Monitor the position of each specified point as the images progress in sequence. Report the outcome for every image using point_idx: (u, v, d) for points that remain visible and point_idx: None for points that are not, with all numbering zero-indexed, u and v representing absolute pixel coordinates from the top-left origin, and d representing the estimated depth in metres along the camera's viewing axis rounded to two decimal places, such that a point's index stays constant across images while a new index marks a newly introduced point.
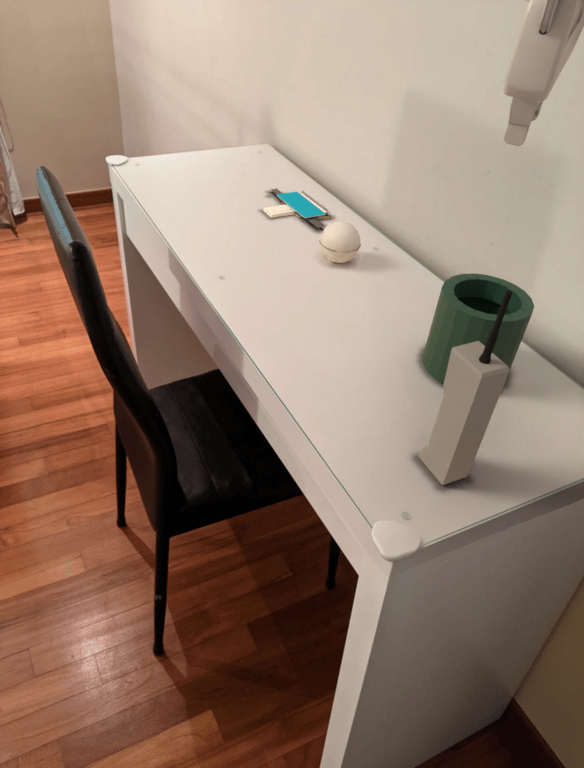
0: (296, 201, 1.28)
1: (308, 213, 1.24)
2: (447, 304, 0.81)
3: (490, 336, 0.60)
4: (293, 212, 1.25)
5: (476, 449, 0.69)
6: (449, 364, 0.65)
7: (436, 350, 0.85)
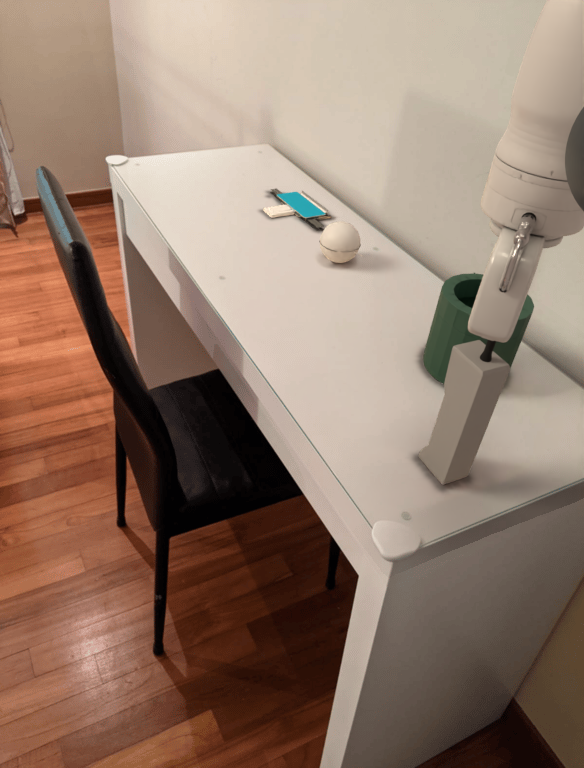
0: (296, 201, 1.28)
1: (308, 213, 1.24)
2: (447, 304, 0.81)
3: None
4: (293, 212, 1.25)
5: (476, 448, 0.69)
6: (450, 362, 0.65)
7: (436, 350, 0.85)
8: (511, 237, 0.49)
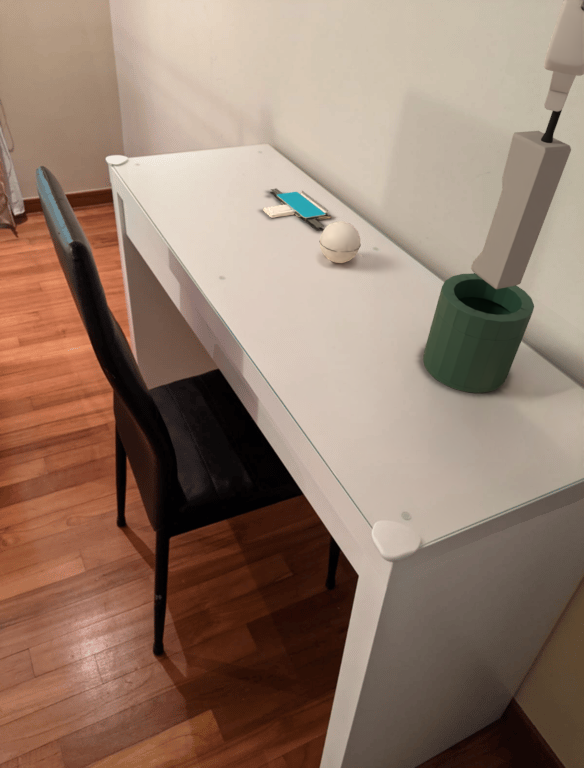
0: (296, 201, 1.28)
1: (308, 213, 1.24)
2: (447, 304, 0.81)
3: None
4: (293, 212, 1.25)
5: (531, 248, 0.71)
6: (510, 152, 0.66)
7: (436, 350, 0.85)
8: None
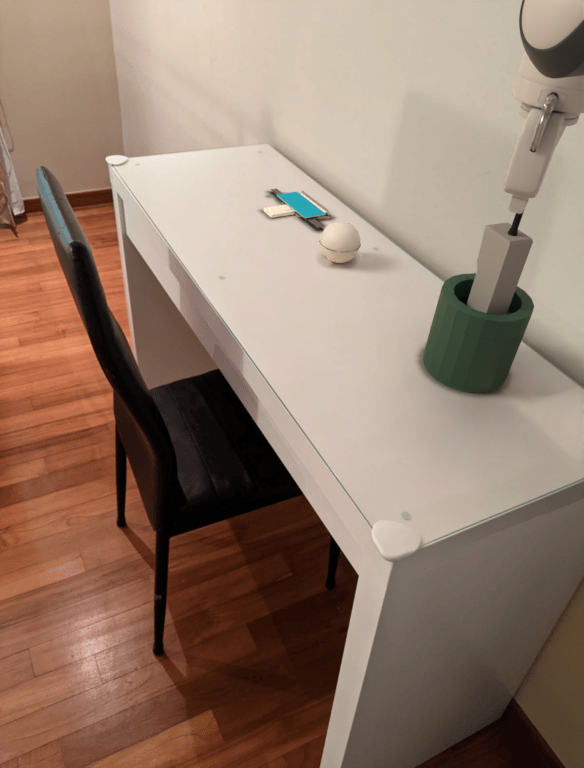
0: (296, 201, 1.28)
1: (308, 213, 1.24)
2: (447, 304, 0.81)
3: None
4: (293, 212, 1.25)
5: None
6: (482, 240, 0.79)
7: (436, 350, 0.85)
8: (538, 112, 0.63)
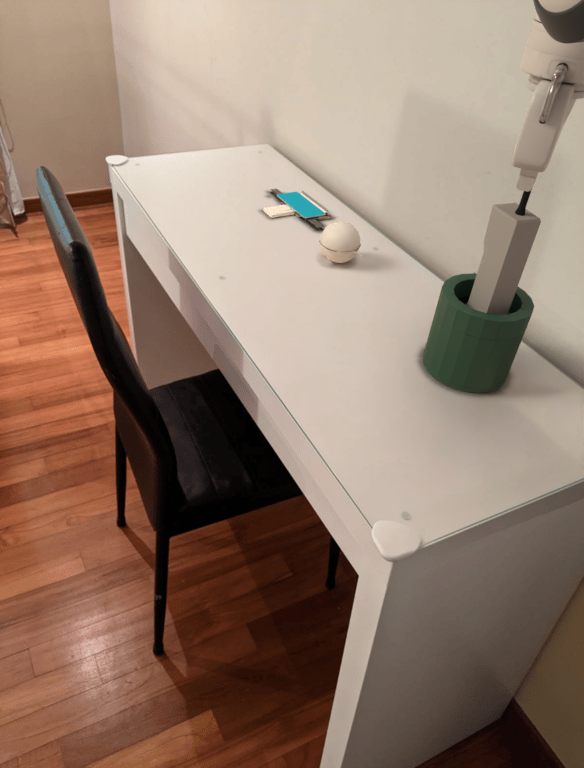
0: (296, 201, 1.28)
1: (308, 213, 1.24)
2: (447, 304, 0.81)
3: None
4: (293, 212, 1.25)
5: (510, 302, 0.81)
6: (489, 220, 0.77)
7: (436, 350, 0.85)
8: (548, 83, 0.61)
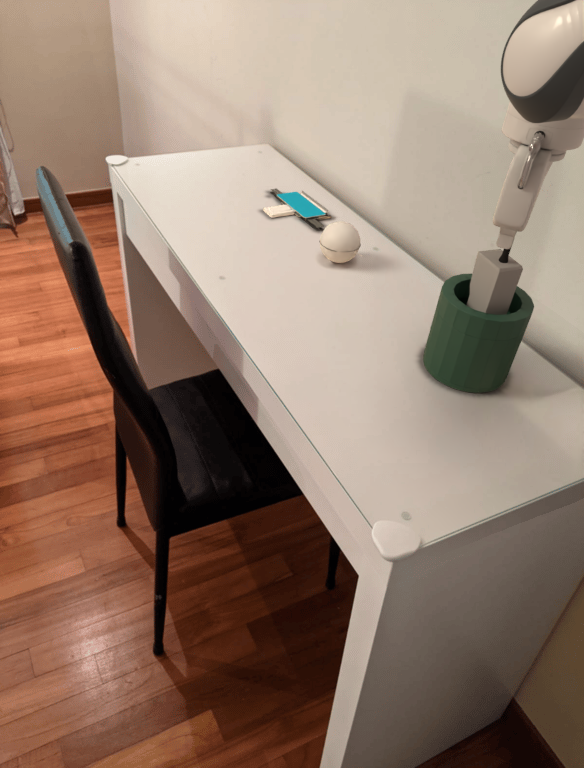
0: (296, 201, 1.28)
1: (308, 213, 1.24)
2: (447, 304, 0.81)
3: None
4: (293, 212, 1.25)
5: None
6: (475, 266, 0.81)
7: (436, 350, 0.85)
8: (526, 149, 0.65)
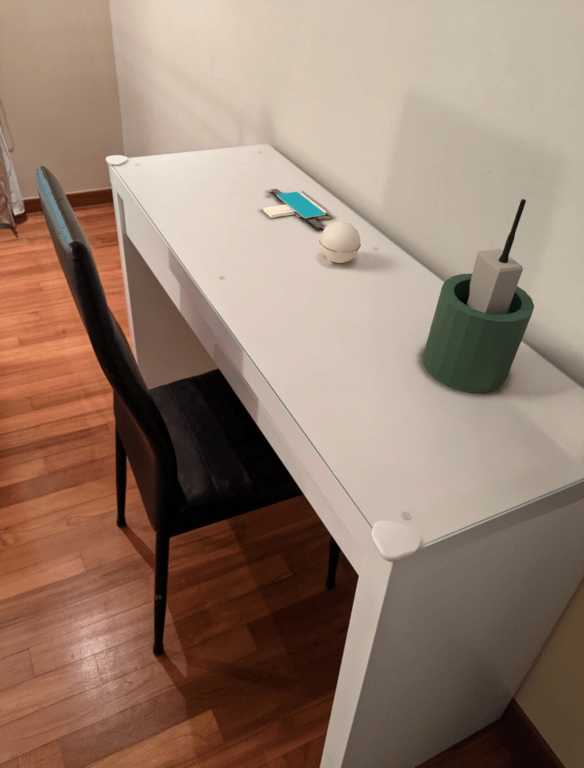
0: (296, 201, 1.28)
1: (308, 213, 1.24)
2: (447, 304, 0.81)
3: (508, 239, 0.76)
4: (293, 212, 1.25)
5: None
6: (475, 266, 0.81)
7: (436, 350, 0.85)
8: None
